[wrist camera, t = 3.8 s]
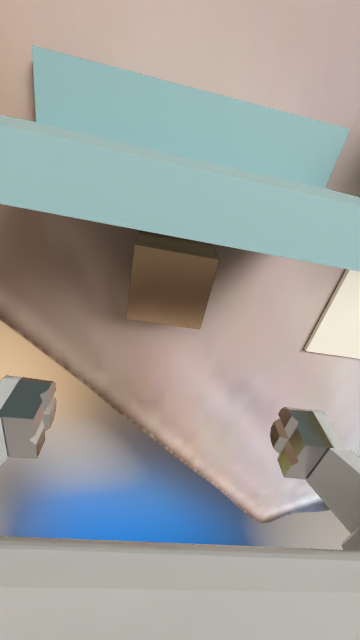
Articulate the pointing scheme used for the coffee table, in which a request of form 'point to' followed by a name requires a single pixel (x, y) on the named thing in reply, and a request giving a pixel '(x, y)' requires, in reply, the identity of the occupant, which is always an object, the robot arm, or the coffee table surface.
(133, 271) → the brown block
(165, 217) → the screen
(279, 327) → the coffee table surface
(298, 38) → the coffee table surface
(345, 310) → the pad
